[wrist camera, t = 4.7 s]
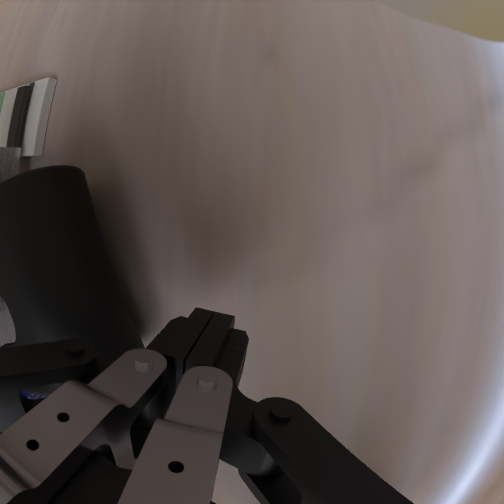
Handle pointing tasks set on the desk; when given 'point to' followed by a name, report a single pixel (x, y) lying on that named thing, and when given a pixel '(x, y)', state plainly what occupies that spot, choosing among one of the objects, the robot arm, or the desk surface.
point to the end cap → (59, 267)
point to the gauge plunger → (4, 167)
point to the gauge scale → (28, 116)
